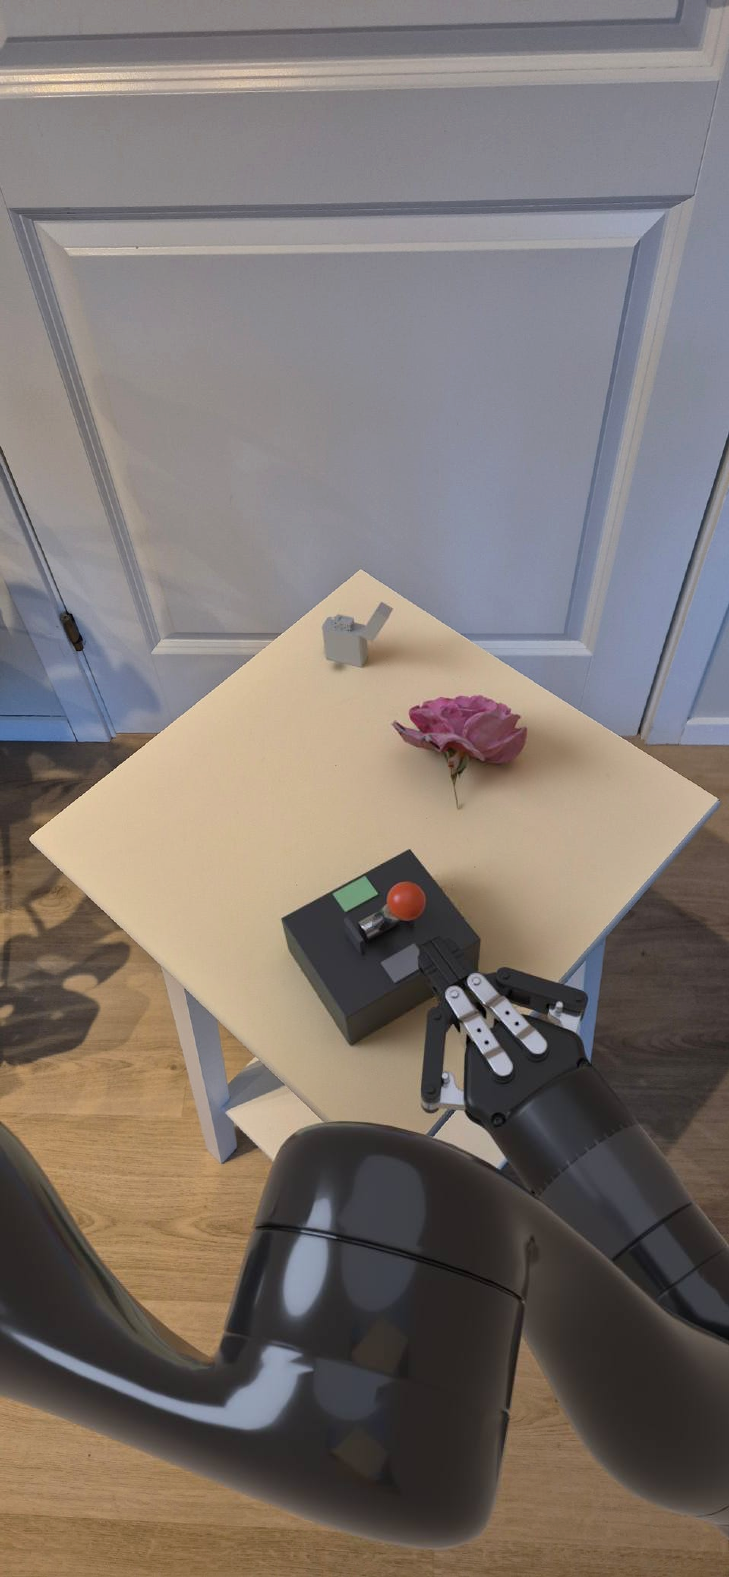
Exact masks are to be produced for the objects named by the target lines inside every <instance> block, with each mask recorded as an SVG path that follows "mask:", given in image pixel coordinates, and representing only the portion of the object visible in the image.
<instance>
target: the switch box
mask: <svg viewBox="0 0 729 1577" xmlns="http://www.w3.org/2000/svg"><path fill="white" fill-rule="evenodd" d="M401 882H412V883H414V884H416V885H418V886H419V887H420V888H421V889H422V891H423V892H424V894H425V898H426V904H425V908H424V910H423V912H422V913H421V915H420V916H418V917H417V918H415V919H413V920H409V921H403V920H401V922H400V923H399V924H397V925H396V926H394V927H392V928H390V929H388V930H387V931H385V932H383V933H381V934H380V935H378V936H376V937H374V938H373V939H371V940H369V941H366V940H365V939H364V938H363V936H362V935H361V933H360V931H359V929H358V925H357V923H358V922H360V921H361V920H363V919H365V918H367V917H368V916H370V915H372V914H374V913H376V912H377V911H379V910H380V909H382V908H383V907H384V906H385V905H386V904H387V896H388V893H389V891H390V890H391V889H392V887H394V886H395V885H396V884H398V883H401ZM280 921H281V923H282V928H283V933H284V937H285V941H286V945H287V950H288V951H289V953H290V954H291V956H292V958H293V959H294V961H295V962H296V964H297V965H298V967H299V968H300V970H301V972H302V973H303V975H304V976H305V978H306V979H307V981H308V982H309V984H310V986H311V988H312V989H313V990H314V992H315V993H316V995H317V997H318V998H319V1000H320V1001H321V1003H322V1005H323V1006H324V1007H325V1009H326V1011H327V1012H328V1014H329V1015H330V1017H331V1019H332V1020H333V1022H334V1023H335V1025H336V1026H337V1028H338V1030H339V1031H340V1033H341V1034H342V1037H344V1039H345V1040H346V1043H347V1045H349V1046H352V1045H354V1044H356V1043H358V1042H359V1041H361V1040H363V1039H364V1038H366V1037H368V1036H370V1035H371V1034H373V1033H374V1032H376V1031H378V1030H380V1029H381V1028H383V1027H385V1026H386V1025H388V1024H390V1023H391V1022H393V1021H394V1020H396V1019H398V1018H399V1017H401V1016H403V1015H405V1014H407V1013H408V1012H410V1011H411V1010H413V1009H415V1008H416V1007H418V1006H420V1005H422V1004H423V1003H425V1002H427V1001H428V1000H430V999H431V998H433V997H434V996H435V997H436V995H435V994H434V992H433V991H432V990H431V988H430V987H429V985H428V984H427V983H426V981H425V980H424V978H423V977H422V976H421V974H420V973H419V968H418V955H419V945H420V944H422V943H424V942H426V941H427V940H429V939H431V938H432V937H434V936H436V935H439V936H440V937H441V938H442V939H443V941H444V940H446V939H447V938H449V939H450V940H452V941H454V942H455V943H456V944H457V946H458V947H459V948H460V950H461V951H462V952H463V954H464V955H465V956H466V958H467V959H468V960H469V961H470V963H471V964H472V965H473V967H474V968H475V969H476V970H477V971H479V965H480V953H481V942H482V941H481V940H482V939H481V938H480V936H479V934H478V933H476V931H475V930H474V929H473V927H472V926H471V925H470V924H469V922H468V921H467V920H466V918H465V917H464V916H463V914H462V913H461V912H460V911H459V909H458V908H457V907H456V906H455V904H454V903H453V902H452V900H451V899H450V898H449V897H448V896H447V894H446V893H445V891H443V889H442V888H441V887H440V885H439V884H438V883H437V881H436V880H435V878H433V876H432V875H431V873H429V871H428V870H427V869H426V867H425V866H424V865H423V863H422V862H421V861H420V860H419V858H418V857H417V855H415V853H414V852H413V851H412V850H411V848H409V849H407V850H404V851H403V852H401V853H399V854H397V855H395V856H393V857H391V858H390V859H388V860H386V861H384V862H383V863H380V864H378V865H377V866H375V867H373V868H371V869H369V870H368V871H366V872H364V873H362V874H360V875H359V876H357V877H355V878H353V879H351V880H349V881H348V882H345V883H344V884H342V885H340V886H338V887H336V888H334V889H333V890H331V891H329V892H327V893H325V894H323V895H321V896H320V897H318V898H316V899H314V900H312V901H311V902H309V903H307V904H305V905H303V906H301V907H299V908H298V909H296V910H294V911H292V912H290V913H288V914H287V915H285V916H283V917H281V920H280Z"/></svg>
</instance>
